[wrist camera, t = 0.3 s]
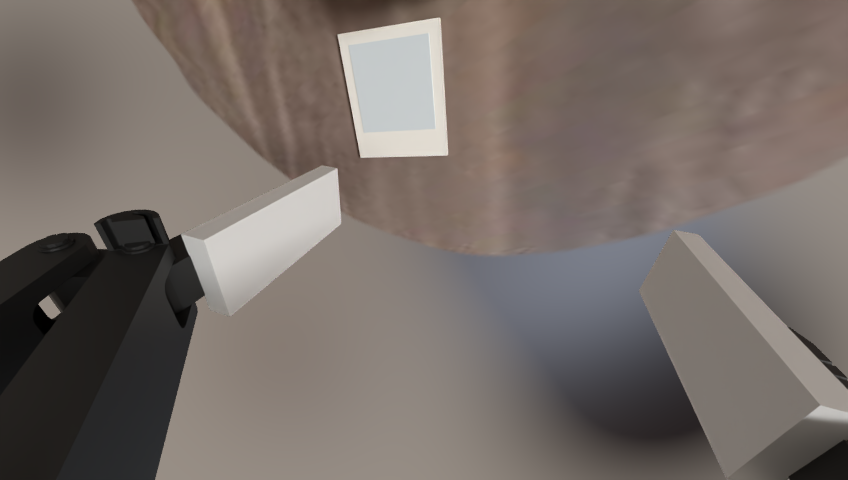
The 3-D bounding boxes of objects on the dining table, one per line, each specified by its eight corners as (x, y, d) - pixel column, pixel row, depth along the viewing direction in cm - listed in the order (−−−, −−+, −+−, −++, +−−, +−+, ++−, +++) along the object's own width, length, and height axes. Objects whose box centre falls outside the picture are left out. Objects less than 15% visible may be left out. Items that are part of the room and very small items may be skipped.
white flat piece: (340, 34, 36) (337, 34, 35) (440, 18, 32) (438, 17, 31) (362, 156, 42) (360, 157, 42) (448, 154, 39) (446, 155, 38)
